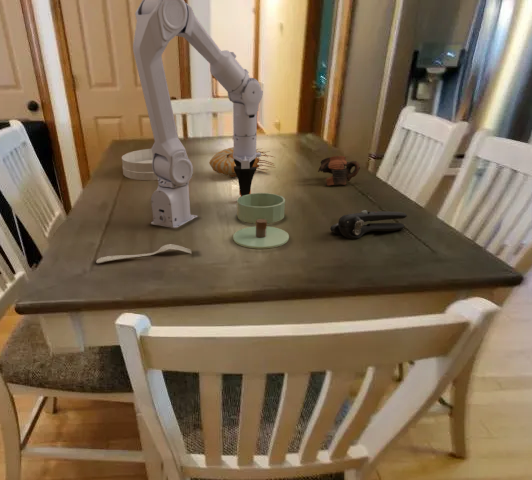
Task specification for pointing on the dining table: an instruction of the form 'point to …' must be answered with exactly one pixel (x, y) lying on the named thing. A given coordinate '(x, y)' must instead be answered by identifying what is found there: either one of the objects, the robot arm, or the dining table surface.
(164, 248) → the fork
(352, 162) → the pottery mug
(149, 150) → the dish
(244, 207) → the pot
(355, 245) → the dining table surface
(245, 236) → the lid
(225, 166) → the nautilus
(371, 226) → the can opener
